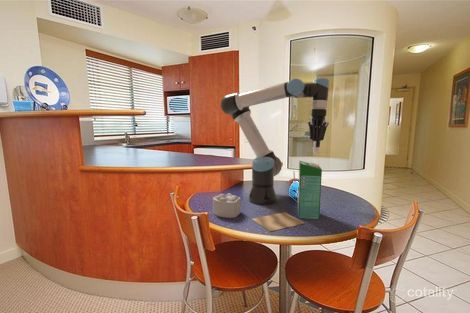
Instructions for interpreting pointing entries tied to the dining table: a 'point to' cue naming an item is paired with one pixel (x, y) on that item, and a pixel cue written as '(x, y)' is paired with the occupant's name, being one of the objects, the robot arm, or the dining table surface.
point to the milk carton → (309, 190)
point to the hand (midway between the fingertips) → (315, 153)
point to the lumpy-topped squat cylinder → (227, 205)
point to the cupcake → (293, 180)
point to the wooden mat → (277, 221)
